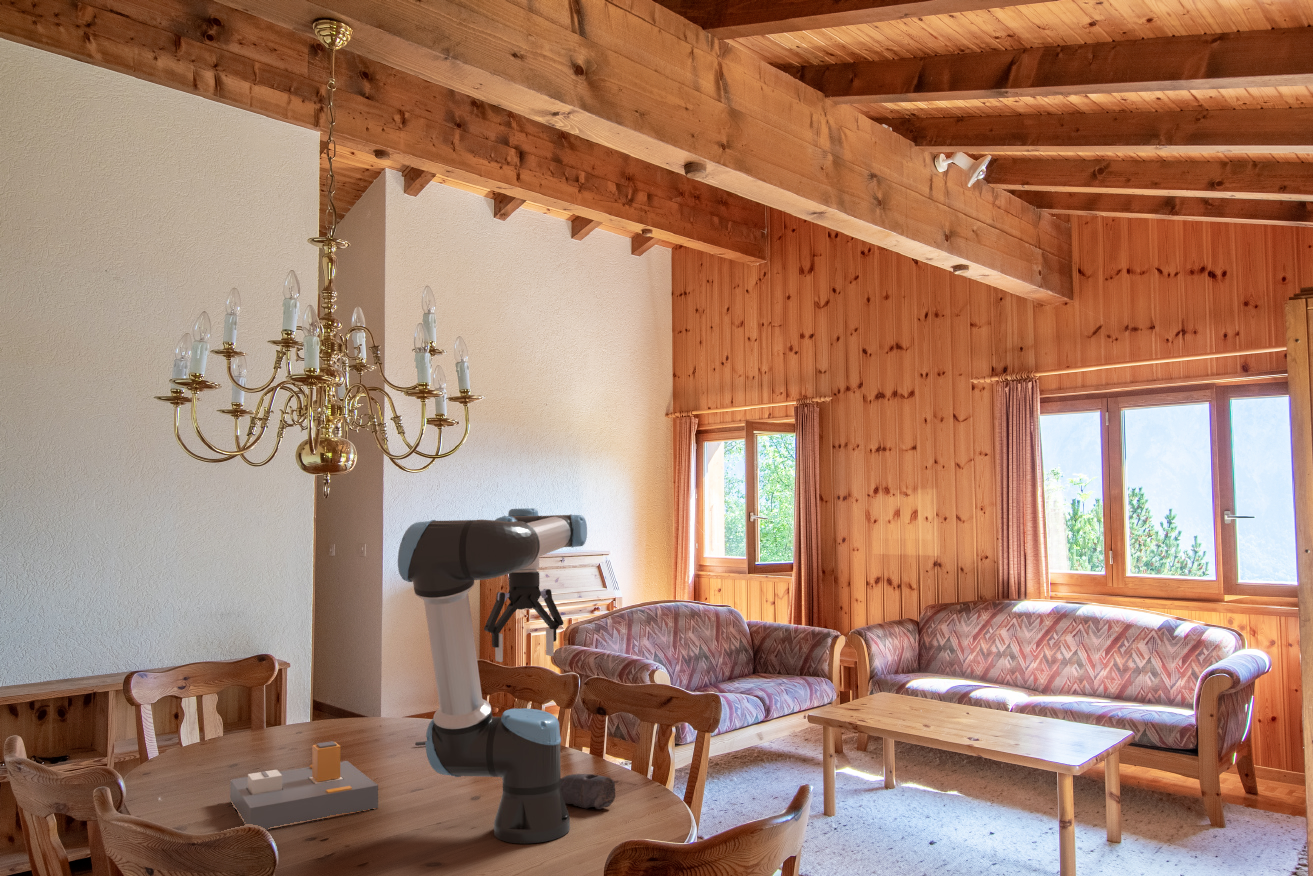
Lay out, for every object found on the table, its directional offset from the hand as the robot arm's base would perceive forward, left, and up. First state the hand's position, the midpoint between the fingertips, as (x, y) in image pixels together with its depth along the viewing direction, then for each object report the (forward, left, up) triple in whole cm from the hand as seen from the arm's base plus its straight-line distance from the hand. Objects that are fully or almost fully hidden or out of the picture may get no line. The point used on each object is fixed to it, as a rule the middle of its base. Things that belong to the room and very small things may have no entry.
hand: (524, 658), depth 222 cm
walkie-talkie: (+42, +3, -29) cm, 52 cm away
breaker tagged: (+12, +44, -29) cm, 54 cm away
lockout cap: (+12, +44, -23) cm, 51 cm away
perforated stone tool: (-27, -1, -29) cm, 40 cm away
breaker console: (+12, +49, -29) cm, 58 cm away
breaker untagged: (+12, +57, -26) cm, 64 cm away
